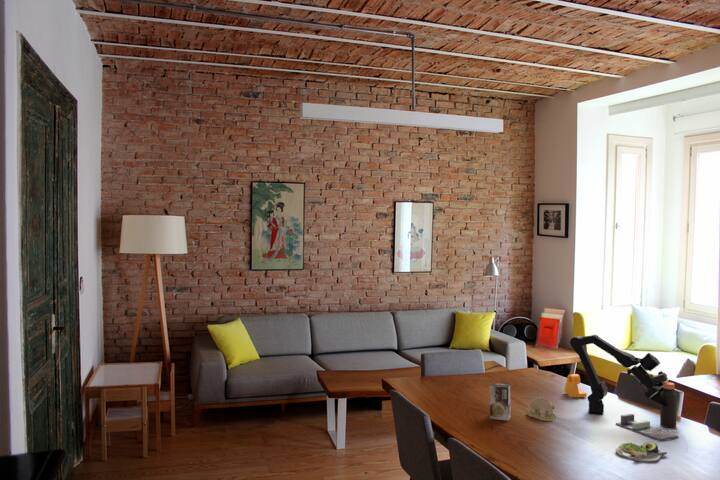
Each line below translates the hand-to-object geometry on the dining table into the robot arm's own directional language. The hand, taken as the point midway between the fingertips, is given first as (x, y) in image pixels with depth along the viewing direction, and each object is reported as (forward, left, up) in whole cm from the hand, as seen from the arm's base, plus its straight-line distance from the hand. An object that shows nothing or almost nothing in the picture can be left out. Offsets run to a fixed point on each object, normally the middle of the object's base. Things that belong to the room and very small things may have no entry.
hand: (668, 403), depth 284 cm
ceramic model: (-57, -4, -11) cm, 58 cm away
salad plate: (-18, -44, -11) cm, 48 cm away
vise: (-11, -11, -10) cm, 19 cm away
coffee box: (-76, -13, -11) cm, 78 cm away
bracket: (-39, +41, -11) cm, 58 cm away
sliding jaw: (-15, -6, -9) cm, 19 cm away
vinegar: (0, 0, -11) cm, 11 cm away
